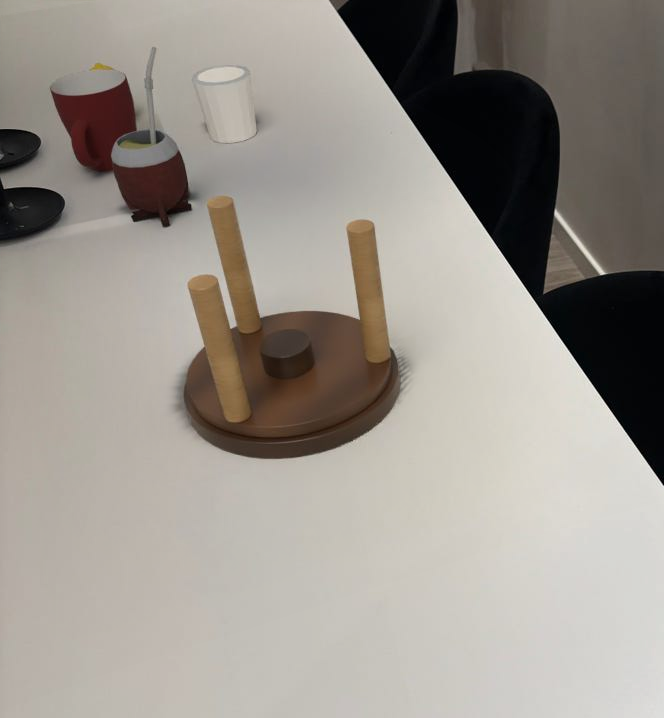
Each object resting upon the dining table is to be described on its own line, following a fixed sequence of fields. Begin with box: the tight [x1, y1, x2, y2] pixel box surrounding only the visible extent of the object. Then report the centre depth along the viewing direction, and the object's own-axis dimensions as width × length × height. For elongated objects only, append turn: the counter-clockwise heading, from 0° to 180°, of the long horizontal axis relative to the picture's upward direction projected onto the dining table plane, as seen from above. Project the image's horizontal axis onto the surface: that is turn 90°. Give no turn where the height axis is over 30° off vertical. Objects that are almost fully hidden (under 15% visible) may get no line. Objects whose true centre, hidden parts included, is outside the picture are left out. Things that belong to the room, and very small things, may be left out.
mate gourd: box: [111, 46, 193, 228], centre depth 97 cm, size 8×8×15 cm
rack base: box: [183, 346, 401, 460], centre depth 77 cm, size 17×17×2 cm
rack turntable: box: [185, 195, 392, 438], centre depth 72 cm, size 16×16×12 cm
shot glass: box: [191, 64, 258, 144], centre depth 115 cm, size 7×7×7 cm
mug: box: [49, 69, 138, 172], centre depth 106 cm, size 10×8×10 cm
